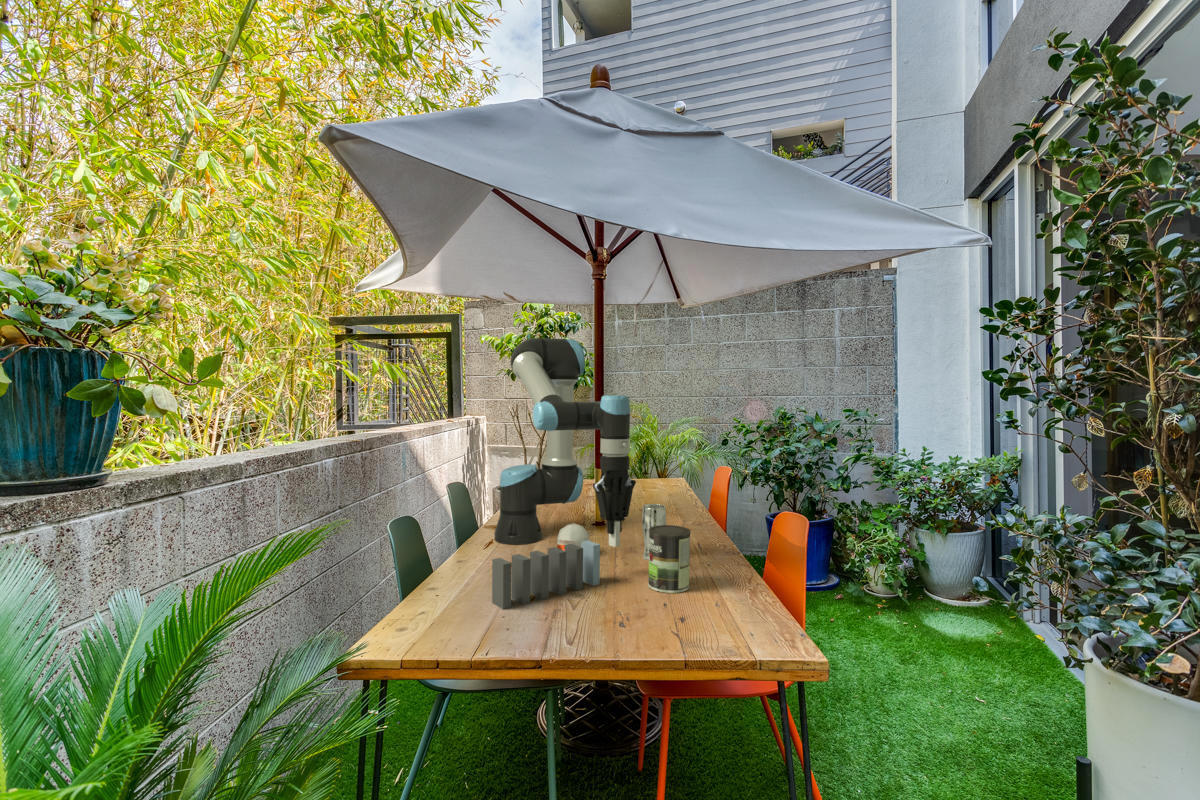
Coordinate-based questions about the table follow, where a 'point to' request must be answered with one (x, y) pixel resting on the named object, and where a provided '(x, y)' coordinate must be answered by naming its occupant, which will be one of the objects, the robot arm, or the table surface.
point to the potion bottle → (571, 536)
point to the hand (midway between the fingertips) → (614, 545)
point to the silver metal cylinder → (651, 522)
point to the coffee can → (669, 558)
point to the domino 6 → (591, 562)
